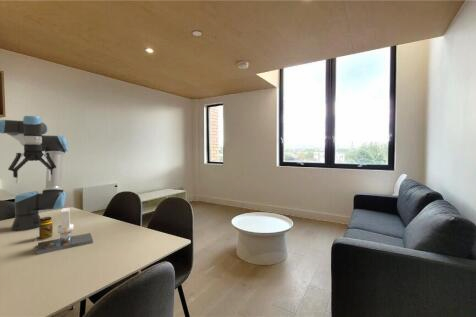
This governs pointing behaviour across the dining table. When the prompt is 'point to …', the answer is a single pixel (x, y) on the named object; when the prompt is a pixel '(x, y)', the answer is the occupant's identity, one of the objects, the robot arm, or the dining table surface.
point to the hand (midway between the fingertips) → (34, 182)
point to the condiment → (45, 229)
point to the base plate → (60, 245)
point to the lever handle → (65, 221)
